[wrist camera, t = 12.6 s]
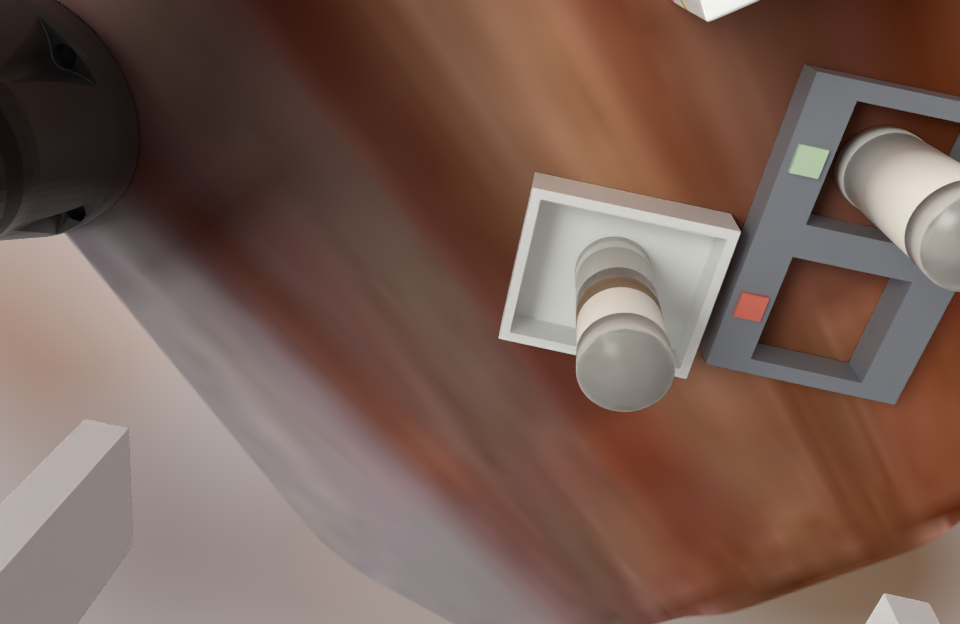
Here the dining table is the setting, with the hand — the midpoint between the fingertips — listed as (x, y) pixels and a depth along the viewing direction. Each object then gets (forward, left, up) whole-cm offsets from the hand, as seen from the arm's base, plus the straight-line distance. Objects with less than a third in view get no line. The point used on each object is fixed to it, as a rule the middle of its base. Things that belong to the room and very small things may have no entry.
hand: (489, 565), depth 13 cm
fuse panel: (+19, -3, -35) cm, 40 cm away
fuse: (+19, +2, -35) cm, 40 cm away
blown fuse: (+6, -8, -34) cm, 36 cm away
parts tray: (+6, -8, -35) cm, 36 cm away
